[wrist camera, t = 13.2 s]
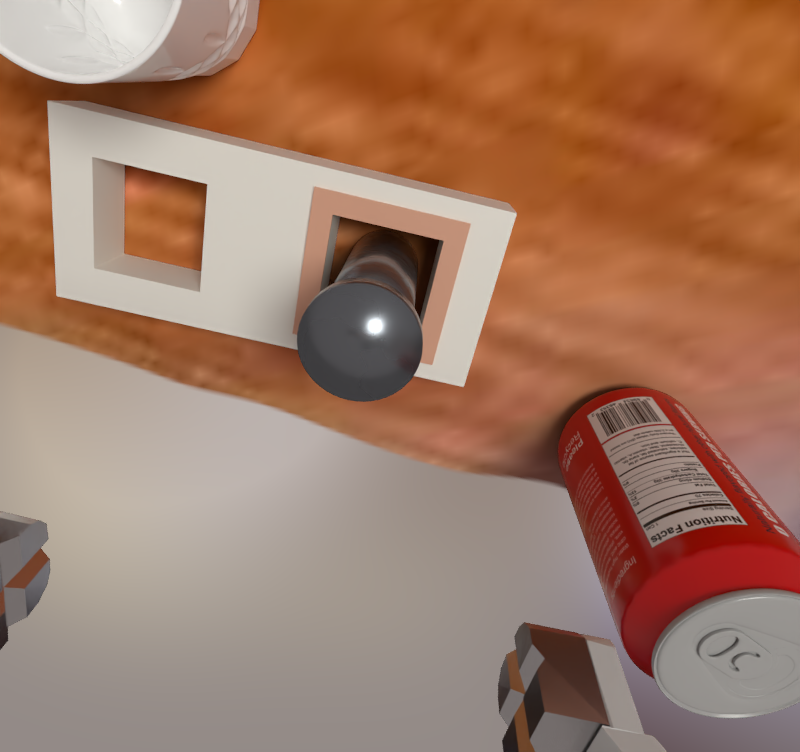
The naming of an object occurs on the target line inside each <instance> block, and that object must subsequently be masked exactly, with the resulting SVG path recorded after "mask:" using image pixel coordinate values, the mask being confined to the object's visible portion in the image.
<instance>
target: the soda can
mask: <svg viewBox="0 0 800 752" xmlns="http://www.w3.org/2000/svg"><path fill="white" fill-rule="evenodd" d="M558 461H559V466H560V470H561V473H562V476H563V479H564V482H565V484H566V487H567V490H568V493H569V496H570V498H571V501H572V504H573V507H574V510H575V512H576V515H577V518H578V521H579V524H580V527H581V529H582V532H583V535H584V538H585V541H586V544H587V547H588V549H589V552H590V555H591V558H592V560H593V563H594V566H595V569H596V572H597V575H598V577H599V580H600V583H601V586H602V589H603V592H604V595H605V597H606V600H607V603H608V606H609V609H610V611H611V614H612V617H613V620H614V623H615V625H616V628H617V631H618V633H619V636H620V639H621V642H622V644H623V646H624V648H625V650H626V652H627V654H628V655H629V657H630V658H631V660H632V661H633V662H634V664H635V665H636V666H637V667H638V668H639V669H640V670H642V671H643V672H644V673H646V674H647V675H649V676H650V677H652V678H654V679H655V681H656V683H657V685H658V687H659V689H660V690H661V691H662V693H663V694H664V695H665V696H666V697H667V698H668V699H669V700H671V701H672V702H673V703H675V704H676V705H678V706H680V707H682V708H684V709H686V710H688V711H691V712H694V713H697V714H700V715H704V716H709V717H716V718H747V717H755V716H760V715H765V714H769V713H773V712H776V711H779V710H782V709H785V708H788V707H790V706H792V705H795V704H797V703H799V702H800V542H799V541H798V540H797V539H796V537H795V536H794V535H793V534H792V533H791V532H790V530H789V529H788V528H787V527H786V526H785V524H784V523H783V522H782V521H781V520H780V518H779V517H778V516H777V515H776V514H775V513H774V511H773V510H772V509H771V508H770V507H769V505H768V504H767V503H766V502H765V501H764V500H763V498H762V497H761V496H760V495H759V494H758V492H757V491H756V490H755V489H754V488H753V486H752V485H751V484H750V483H749V482H748V481H747V479H746V478H745V477H744V476H743V475H742V473H741V472H740V471H739V470H738V469H737V468H736V466H735V465H734V464H733V463H732V462H731V460H730V459H729V458H728V457H727V456H726V454H725V453H724V452H723V451H722V450H721V449H720V447H719V446H718V445H717V444H716V443H715V441H714V440H713V439H712V438H711V437H710V436H709V434H708V433H707V432H706V431H705V430H704V428H703V427H702V426H701V425H700V424H699V422H698V421H697V420H696V419H695V418H694V417H693V415H692V414H691V413H690V412H689V411H688V410H687V409H686V408H685V407H684V406H683V405H682V404H681V403H680V402H678V401H677V400H676V399H674V398H673V397H671V396H669V395H667V394H665V393H663V392H660V391H657V390H653V389H648V388H624V389H618V390H614V391H611V392H607V393H605V394H602V395H600V396H598V397H596V398H594V399H592V400H590V401H589V402H587V403H586V404H585V405H583V406H582V407H581V408H580V409H579V410H577V411H576V412H575V413H574V415H573V416H572V417H571V418H570V419H569V421H568V422H567V424H566V425H565V427H564V429H563V431H562V433H561V436H560V439H559V444H558Z"/></svg>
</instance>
